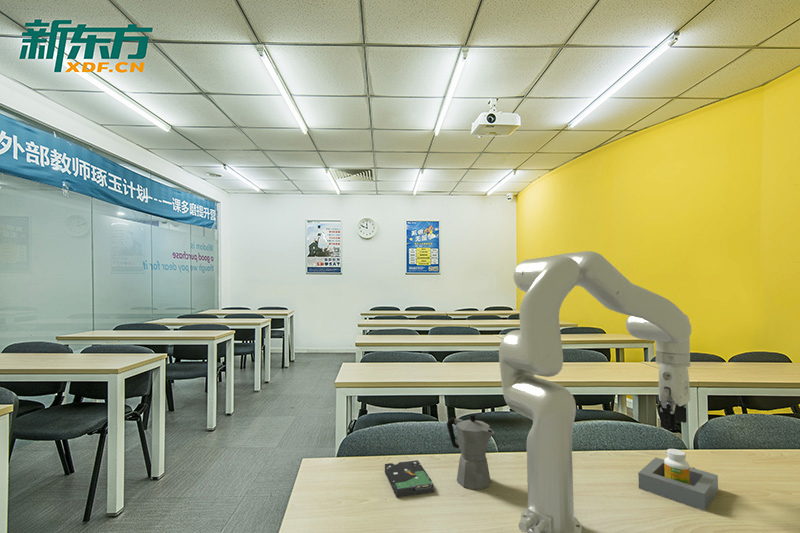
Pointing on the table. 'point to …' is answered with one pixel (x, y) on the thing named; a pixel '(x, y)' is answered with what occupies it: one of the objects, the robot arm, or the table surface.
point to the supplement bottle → (677, 466)
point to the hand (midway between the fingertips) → (673, 424)
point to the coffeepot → (471, 451)
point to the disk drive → (408, 479)
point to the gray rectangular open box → (679, 485)
